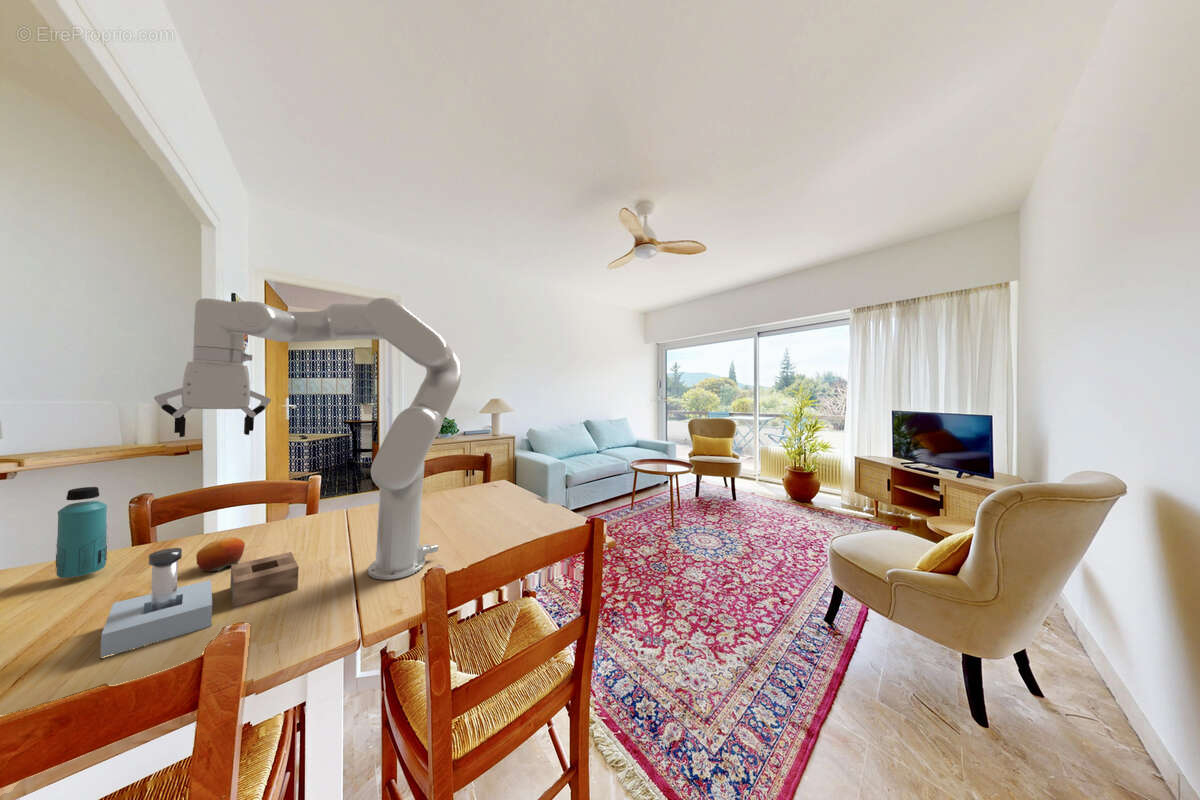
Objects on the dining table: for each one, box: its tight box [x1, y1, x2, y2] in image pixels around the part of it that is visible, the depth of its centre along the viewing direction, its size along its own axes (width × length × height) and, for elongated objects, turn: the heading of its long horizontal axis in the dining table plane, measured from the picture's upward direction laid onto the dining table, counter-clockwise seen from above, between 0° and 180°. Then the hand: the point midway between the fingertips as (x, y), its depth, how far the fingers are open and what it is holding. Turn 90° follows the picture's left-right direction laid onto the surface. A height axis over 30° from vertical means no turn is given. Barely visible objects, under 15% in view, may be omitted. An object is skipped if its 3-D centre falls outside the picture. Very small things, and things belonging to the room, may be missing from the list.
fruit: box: [196, 536, 246, 572], centre depth 87 cm, size 8×8×8 cm
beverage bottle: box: [54, 486, 109, 579], centre depth 79 cm, size 6×7×20 cm
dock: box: [99, 579, 213, 658], centre depth 65 cm, size 12×12×4 cm
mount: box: [229, 551, 299, 609], centre depth 78 cm, size 10×10×5 cm
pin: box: [148, 547, 183, 612], centre depth 65 cm, size 4×4×14 cm
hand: (215, 435), depth 78 cm, fingers open, 9 cm apart
